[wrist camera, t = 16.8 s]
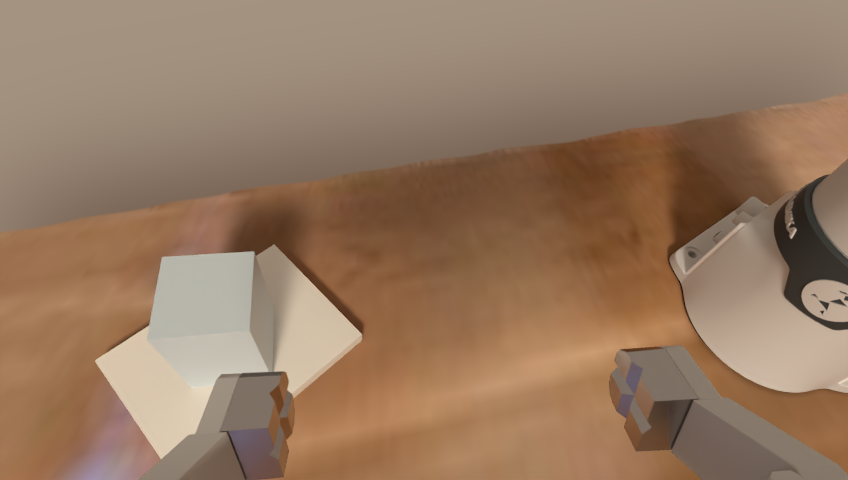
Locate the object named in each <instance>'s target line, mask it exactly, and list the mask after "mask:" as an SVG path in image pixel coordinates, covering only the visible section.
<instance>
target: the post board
mask: <svg viewBox="0 0 848 480" xmlns="http://www.w3.org/2000/svg"><path fill="white" fill-rule="evenodd" d="M256 258H257V261H258V264H259V267H260V270H261V273H262V275H263V278H264V281H265V284H266V287H267V290H268V293H269V296H270V299H271V302H272V305H273V308H274V341H273V372H280V371H284V372H286V373H287V376H288V380H289V384H288V389H287V390H288V391H289V392H290V393H292V395H293V398H295V397H296V396H297V395H298V394H299V393H300V392H302V391H303V390H304V389H305V388H306V387H308V386H309V385H310V384H311V383H312V382H313V381H315V380H316V379H317V378H318V377H319V376H321V375H322V374H323V373H324V372H325V371H326V370H328V369H329V368H330V367H331V366H332V365H333V364H335V363H336V362H337V361H338V360H339V359H341V358H342V357H343V356H344V355H345V354H346V353H348V352H349V351H350V350H351V349H352V348H354V347H355V346H356V345H357V344H358V343H359V342H361V341H362V334H361V333H360V332H359V331H358V330H357V329H356V328H355V327H354V326H353V325H352V324H351V323H350V322H349V321H348V320H347V319H346V318H345V316H344V315H343V314H342V313H341V312H340V311H339V310H338V309H337V308H336V307H335V306H334V305H333V304H332V303H331V302H330V301H329V300H328V299H327V298H326V297H325V296H324V295H323V294H322V293H321V292H320V291H319V290H318V289H317V288H316V287H315V286H314V285H313V284H312V283H311V282H310V280H309V279H308V278H307V277H306V276H305V275H304V274H303V273H302V272H301V271H300V270H299V269H298V268H297V267H296V266H295V265H294V264H293V263H292V262H291V261H290V260H289V259H288V258H287V257H286V256H285V255H284V254H283V253H282V252H281V251H280V250H279V249H278V248H277V247H276V246H275V245H272V246H271V247H269V248H268V249H266V250H265V251H263V252H261V253H260V254H258V255H257V256H256ZM148 330H149V326H147V327H146V328H144V329H143V330H141V331H140V332H138V333H137V334H135V335H134V336H132V337H130V338H129V339H127V340H126V341H124V342H123V343H121V344H120V345H118V346H117V347H115V348H113V349H112V350H110V351H109V352H107V353H106V354H104V355H103V356H101V357H100V358H98V359H97V360H95V362H96V363H97V365H98V366H99V368H100V369H101V371H102V372H103V374H104V375H105V377H106V378H107V380H108V381H109V383H110V384H111V386H112V387H113V389H114V390H115V392H116V393H117V395H118V396H119V398H120V399H121V400H122V402H123V403H124V405H125V406H126V408H127V409H128V411H129V412H130V414H131V415H132V417H133V418H134V420H135V421H136V423H137V424H138V426H139V427H140V429H141V430H142V432H143V433H144V435H145V436H146V437H147V439H148V440H149V442H150V443H151V445H152V446H153V448H154V449H155V451H156V452H157V454H158V455H159V457H160V458H161V459H162V458H163V457H164V456H165V455H167V454H168V453H169V452H170V451H171V450H172V449H173V448H174V447H175V446H177V445H178V444H179V443H180V442H181V441H182V440H183V439H184V438H185V437H187V436H188V435H190V434H195V433H196V431H197V428H198V425H199V423H200V420H201V418H202V415H203V413H204V410H205V408H206V405H207V402H208V400H209V397H210V395H211V392H212V390H213V387H214V385H213V386H204V387H195V388H191V387H190V386H189V385H188V384H187V383H186V381H185V380H184V379H183V378H182V377H181V376H180V375H179V374H178V373H177V372H176V371H175V370H174V369H173V367H172V366H171V365H170V364H169V363H168V362H167V361H166V360H165V359H164V358H163V357H162V356H161V355H160V354H159V352H158V351H157V350H156V349H155V348H154V347H153V346H152V345H151V344H150V343H149V342H148V341H147V335H148Z"/></svg>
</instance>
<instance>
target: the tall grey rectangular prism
mask: <svg viewBox="0 0 848 480" xmlns="http://www.w3.org/2000/svg"><path fill="white" fill-rule="evenodd" d="M147 341H148V342H149V343H150V344H151V345H152V346H153V347H154V348H155V349H156V350H157V351H158V352H159V354H160V355H161V356H162V357H163V358H164V359H165V360H166V361H167V362H168V363H169V364H170V365H171V366H172V367H173V369H174V370H175V371H176V372H177V373H178V374H179V375H180V376H181V377H182V378H183V379H184V380H185V381H186V383H187V384H188V385H189V386H190V387H191V388H195V387H204V386H213V385H214V384H215V382H216V380H217V379H218V377H219V376H220V375H221V374H236V373H254V372H273V341H274V308H273V305H272V302H271V299H270V296H269V293H268V290H267V287H266V284H265V281H264V278H263V275H262V273H261V270H260V267H259V264H258V261H257V258H256V255H255V252H254V251H251V252H236V253H220V254H204V255H188V256H172V257H162V261H161V266H160V271H159V277H158V282H157V287H156V293H155V298H154V303H153V309H152V314H151V319H150V325H149V330H148V335H147Z"/></svg>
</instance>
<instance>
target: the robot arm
mask: <svg viewBox="0 0 848 480" xmlns="http://www.w3.org/2000/svg"><path fill="white" fill-rule="evenodd" d="M690 256H691V257H690ZM669 260H670V264H671V267H672V269H673V271H674V272H675V274H676V276H677V277H678V279H679V281H680V282H681V285H682V288H683V294H684V300H685V305H686V309H687V312H688V315H689V317H690V320H691V322H692V324H693V326H694V327H695V329H696V331H697V332H698V334H699V335H700V337H701V338H702V340H703V341H704V342H705V344H706V345H707V346H708V347H709V348H710V349H711V350H712V352H713V353H714V354H715V355H716V356H717V357H719V358H720V359H721V360H722V361H723V362H724V363H725V364H727V365H728V366H729V367H730V368H732V369H733V370H735V371H736V372H737V373H739V374H741V375H742V376H744V377H746V378H747V379H749V380H751V381H753V382H755V383H757V384H760V385H762V386H765V387H768V388H771V389H774V390H778V391H784V392H807V391H811V390H816V389H822V388H827V389H831V390H835V391H839V392H844V393H848V159H847V160H846V161H845V162H844V163H842V164H841V165H840V166H839V167H838V168H837V169H836V170H834V171H833V172H832V173H831V174H829V175H825V176H822V177H820V178H818V179H816V180H814V181H813V182H811V183H809V184H807V185H805V186H804V187H802V188H801V189H800V190H798V191H789V192H787V193H786V194H785V195H783V196H782V197H781V198H779V199H778V200H777V201H775V202H774V203H773V204H771V205H768V204H765V203H762V201H760V200H759V199H758V198H756V197H754V196H752V197H750V198H749V199H748V200H747V201H746V202H744V203H743V204H742V205H741V206H740V207H739V208H737V209H736V210H734V211H733V212H732V213H730V214H729V215H727V216H726V217H724V218H723V219H722V220H720V221H719V222H717V223H716V224H714V225H713V226H711V227H710V228H709V229H707V230H706V231H704V232H703V233H701V234H700V235H698V236H697V237H696V238H694V239H693V240H691V241H690V242H688V243H687V244H685V245H684V246H683V247H681V248H680V249H678V250H677V251H676V252H674V253H673V254H672V255H671V256H670V259H669ZM615 362H616V364H617V366H618V368H616V369H615V370H614V371H613V372H612V373H611V376H610V380H609V390H610V396H611V399H612V403H613V405H614V407H615V409H616V411H617V412H618V413H620V414H621V415H622V416H624V417H625V418H626V422H625V425H624V428H625V430H626V432H627V434H628V436H629V438H630V440H631V442H632V444H633V446H634V448H635V450H636V452H637V451H660V450H672V451H671V452H672V453H673V454H674V455H675V456H676V457H677V458H679V459H680V460H681V461H682V462H683V463H684V464H685V465H686V466H688V467H689V468H690V469H691V470H692V471H693V472H694V473H696V474H697V475H698V476H699V477H700V478H701V479H702V480H848V475H847V474H846V472H845V471H844V470H843V469H842V468H841V467H840V465H838V464H836V463H835V462H833V461H831V460H830V459H828V458H827V457H825V456H823V455H822V454H820V453H818V452H817V451H815V450H813V449H812V448H810V447H808V446H807V445H805V444H803V443H802V442H800V441H799V440H797V439H795V438H794V437H792V436H790V435H789V434H787V433H785V432H784V431H782V430H780V429H779V428H777V427H775V426H774V425H772V424H771V423H769V422H767V421H766V420H764V419H762V418H761V417H759V416H757V415H756V414H754V413H752V412H751V411H749V410H747V409H746V408H744V407H743V406H741V405H739V404H738V403H736V402H734V401H733V400H731V399H729V398H722V397H721V396H720V395H719V393H718V392H717V391H716V389H715V388H714V386H713V385H712V384H711V382H710V381H709V380H708V378H707V377H706V376H705V374H704V373H703V371H702V370H701V369H700V367H699V366H698V365H697V363H696V362H695V361H694V359H693V358H692V356H691V355H690V354H689V352H688V351H687V350H686V348H684V347H683V346H681V345H677V346H662V347H646V348H633V349H620V350H619V351H618V352H617V354H616V358H615ZM288 384H289V380H288V376H287V373H286V372H284V371H280V372H254V373H236V374H221V375H220V376H219V377H218V379H217V380H216V382H215V384H214V387H213V390H212V392H211V395H210V397H209V400H208V402H207V405H206V408H205V410H204V413H203V415H202V418H201V420H200V423H199V425H198V428H197V431H196V433H195V434H190V435H188V436H187V437H185V438H184V439H183V440H182V441H181V442H180V443H179V444H178V445H177V446H175V447H174V448H173V449H172V450H171V451H170V452H169V453H168V454H167V455H165V456H164V457H163V458H162V459H161V460H160V461H159V462H158V463H157V464H155V465H154V466H153V467H152V468H151V469H150V470H149V471H148V472H147V473H145V474H144V475H143V476H142V477H141V478H140V479H139V480H261V479H271V478H281V477H284V473H285V468H286V463H287V458H288V453H289V449H288V445H287V442H286V440H287V439H288V438H289V437H290V435H291V434H292V432H293V427H294V416H295V407H294V399H293V395H292V393H290V392H289V391H288V390H287V389H288Z"/></svg>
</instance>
